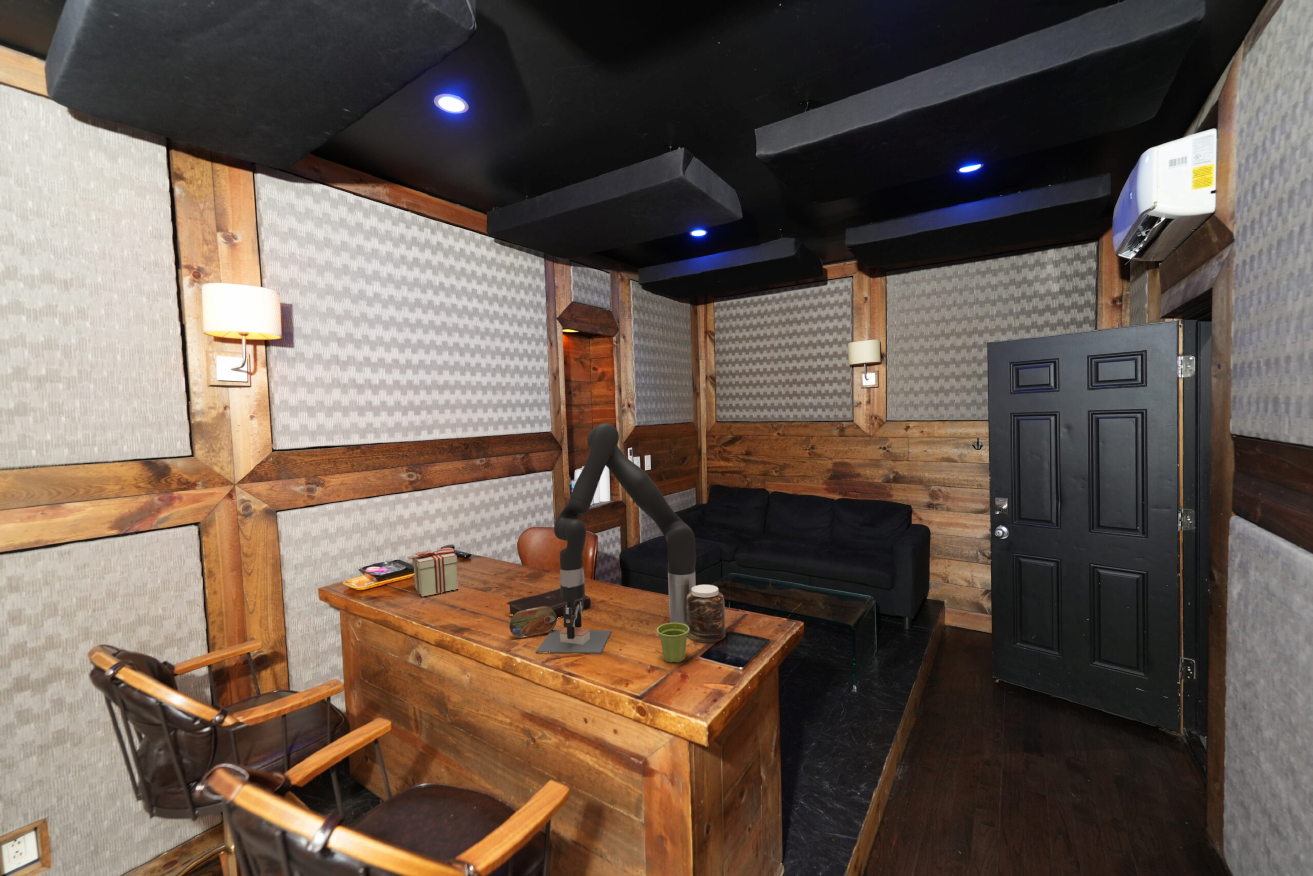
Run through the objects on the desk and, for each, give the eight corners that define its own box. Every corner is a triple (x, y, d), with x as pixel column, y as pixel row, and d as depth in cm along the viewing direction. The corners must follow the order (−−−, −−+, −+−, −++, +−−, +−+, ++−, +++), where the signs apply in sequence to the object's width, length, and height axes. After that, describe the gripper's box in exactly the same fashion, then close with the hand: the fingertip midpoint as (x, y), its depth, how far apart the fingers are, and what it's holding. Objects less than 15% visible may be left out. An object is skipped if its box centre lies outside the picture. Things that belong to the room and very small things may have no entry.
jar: (714, 625, 175) (713, 580, 174) (732, 638, 164) (730, 591, 163) (682, 632, 171) (680, 586, 170) (697, 646, 160) (695, 597, 159)
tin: (510, 640, 169) (508, 614, 169) (510, 637, 172) (508, 611, 172) (558, 631, 173) (555, 606, 173) (557, 627, 176) (554, 603, 176)
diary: (591, 610, 196) (591, 596, 195) (530, 630, 179) (530, 616, 179) (564, 597, 209) (563, 585, 209) (505, 615, 193) (504, 601, 192)
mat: (611, 631, 173) (611, 630, 173) (600, 654, 157) (600, 652, 157) (552, 631, 175) (552, 629, 175) (535, 653, 159) (535, 651, 159)
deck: (568, 635, 170) (567, 626, 170) (589, 639, 167) (589, 629, 167) (560, 641, 166) (559, 632, 166) (582, 644, 163) (582, 635, 162)
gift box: (446, 580, 237) (444, 542, 236) (461, 589, 223) (459, 549, 222) (406, 589, 226) (403, 549, 225) (419, 600, 212) (416, 557, 211)
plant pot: (651, 659, 153) (650, 629, 152) (673, 648, 159) (672, 619, 159) (674, 669, 146) (673, 638, 146) (697, 657, 153) (696, 628, 152)
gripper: (567, 575, 173) (569, 623, 174) (553, 589, 159) (556, 642, 159) (589, 574, 172) (591, 623, 173) (578, 589, 158) (580, 642, 159)
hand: (574, 632), depth 166 cm, fingers open, 8 cm apart
